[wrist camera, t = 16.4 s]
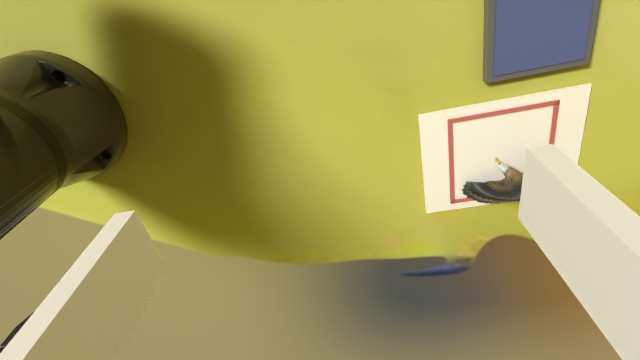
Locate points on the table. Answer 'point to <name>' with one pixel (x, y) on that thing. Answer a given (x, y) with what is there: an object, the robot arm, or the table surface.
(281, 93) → the table surface
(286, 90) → the table surface
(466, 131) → the print sheet
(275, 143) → the table surface
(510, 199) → the eagle figurine
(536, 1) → the ink pad
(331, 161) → the table surface
